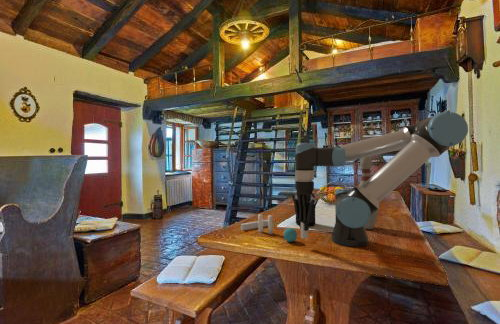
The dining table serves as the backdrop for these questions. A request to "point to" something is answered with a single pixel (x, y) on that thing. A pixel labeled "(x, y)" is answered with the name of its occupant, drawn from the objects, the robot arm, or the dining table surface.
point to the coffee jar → (309, 222)
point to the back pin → (260, 223)
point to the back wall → (253, 225)
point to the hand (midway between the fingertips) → (304, 237)
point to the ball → (290, 234)
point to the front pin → (270, 224)
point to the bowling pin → (366, 170)
